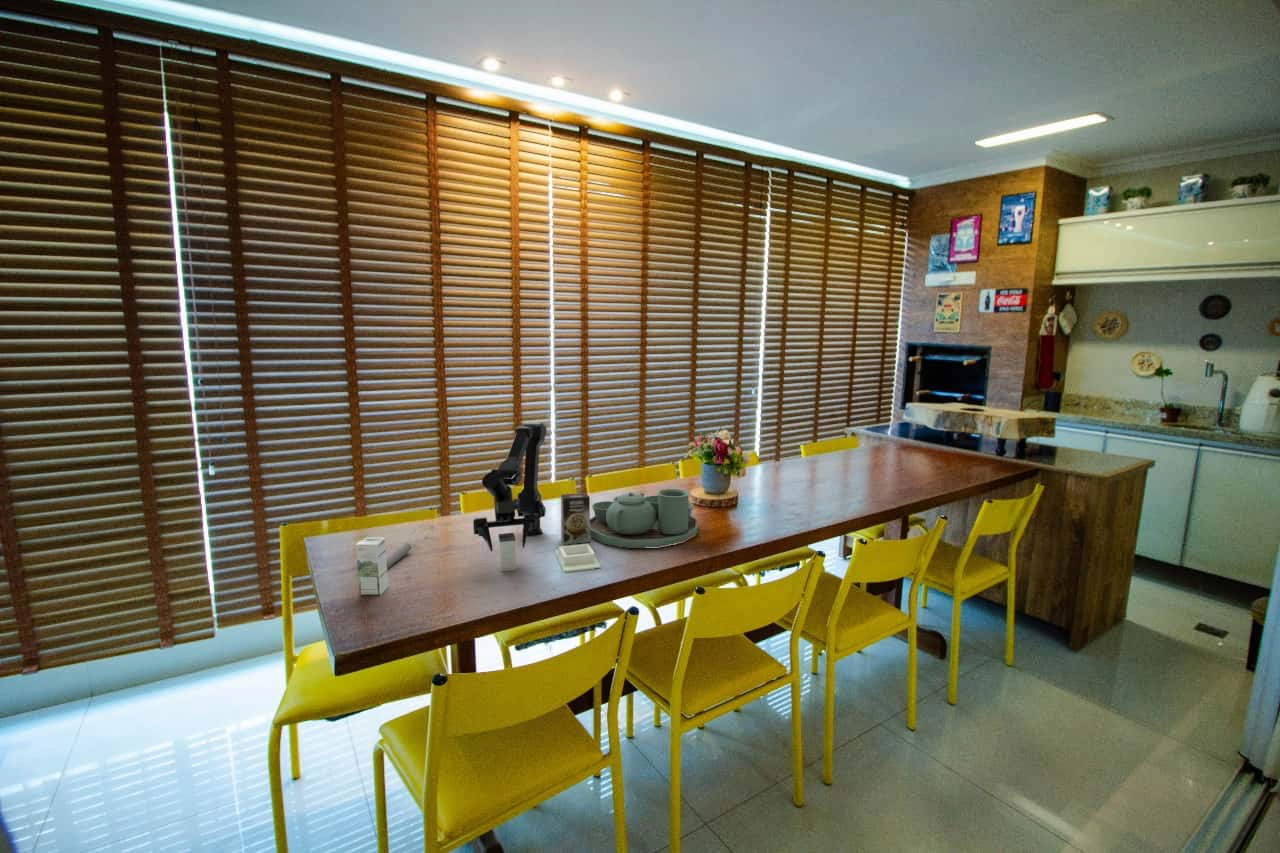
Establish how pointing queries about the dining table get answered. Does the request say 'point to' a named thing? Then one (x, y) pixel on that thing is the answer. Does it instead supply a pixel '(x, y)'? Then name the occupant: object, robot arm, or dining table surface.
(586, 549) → the collar holder
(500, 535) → the grey tall block
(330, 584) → the dining table surface
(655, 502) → the tea set
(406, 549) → the kitchen whisk
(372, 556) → the syrup box
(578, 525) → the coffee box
